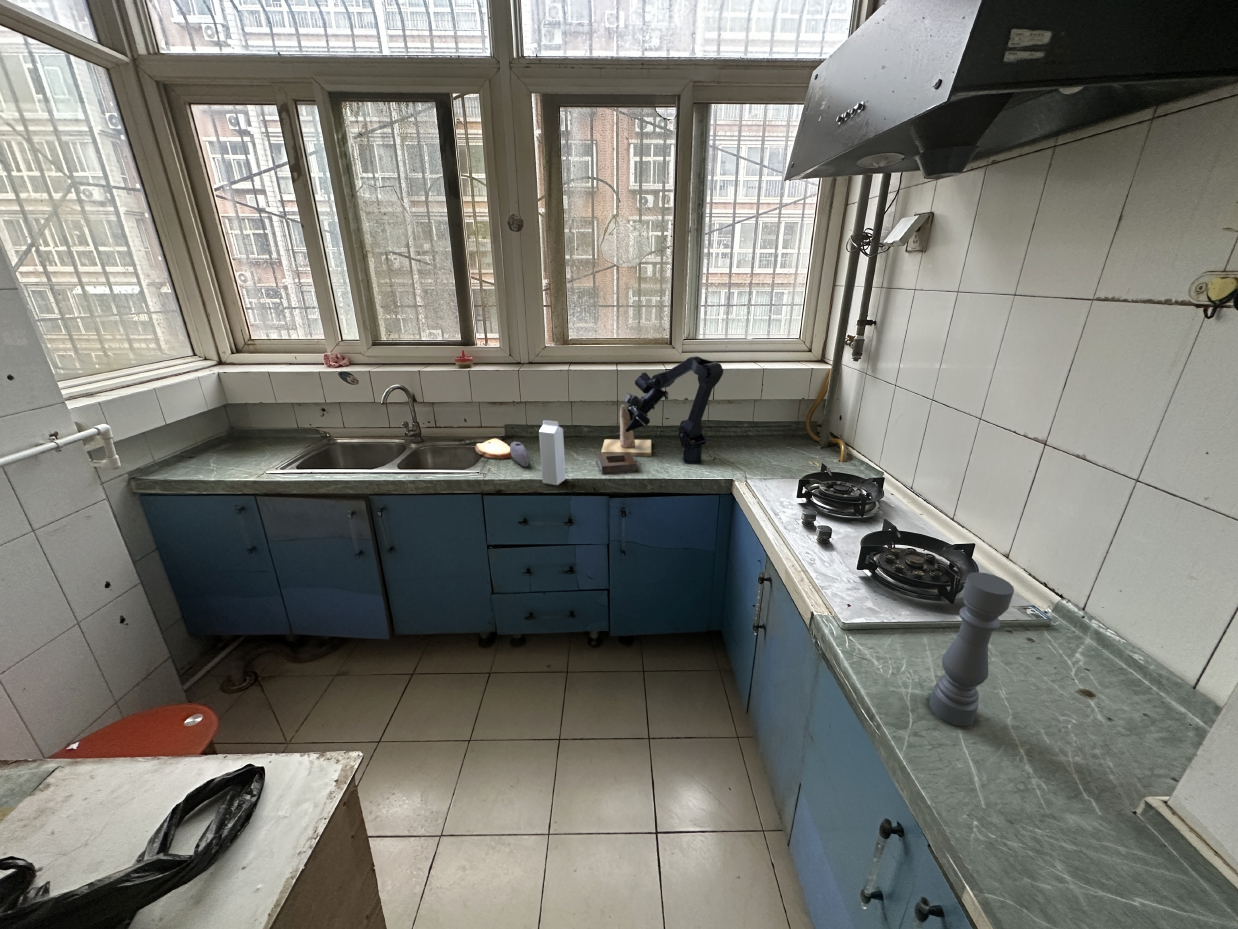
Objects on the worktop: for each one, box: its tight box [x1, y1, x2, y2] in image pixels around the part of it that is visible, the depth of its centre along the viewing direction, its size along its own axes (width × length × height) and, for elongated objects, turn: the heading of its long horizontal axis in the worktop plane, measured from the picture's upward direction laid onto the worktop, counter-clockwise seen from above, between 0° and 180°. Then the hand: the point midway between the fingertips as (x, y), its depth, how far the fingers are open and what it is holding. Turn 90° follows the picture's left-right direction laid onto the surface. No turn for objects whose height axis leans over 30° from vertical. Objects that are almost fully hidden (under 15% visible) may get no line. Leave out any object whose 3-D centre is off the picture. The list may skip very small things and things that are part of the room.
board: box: [600, 438, 652, 457], centre depth 206 cm, size 20×16×2 cm
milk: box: [538, 419, 566, 486], centre depth 171 cm, size 6×6×22 cm
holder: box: [596, 452, 638, 475], centre depth 187 cm, size 13×13×3 cm
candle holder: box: [929, 571, 1015, 727], centre depth 78 cm, size 6×6×25 cm
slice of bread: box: [474, 437, 513, 460], centre depth 204 cm, size 18×18×4 cm
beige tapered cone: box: [619, 404, 636, 448], centre depth 202 cm, size 6×18×6 cm
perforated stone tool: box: [509, 441, 530, 468], centre depth 191 cm, size 15×5×7 cm, turn 26°
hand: (623, 428), depth 202 cm, fingers open, 9 cm apart
